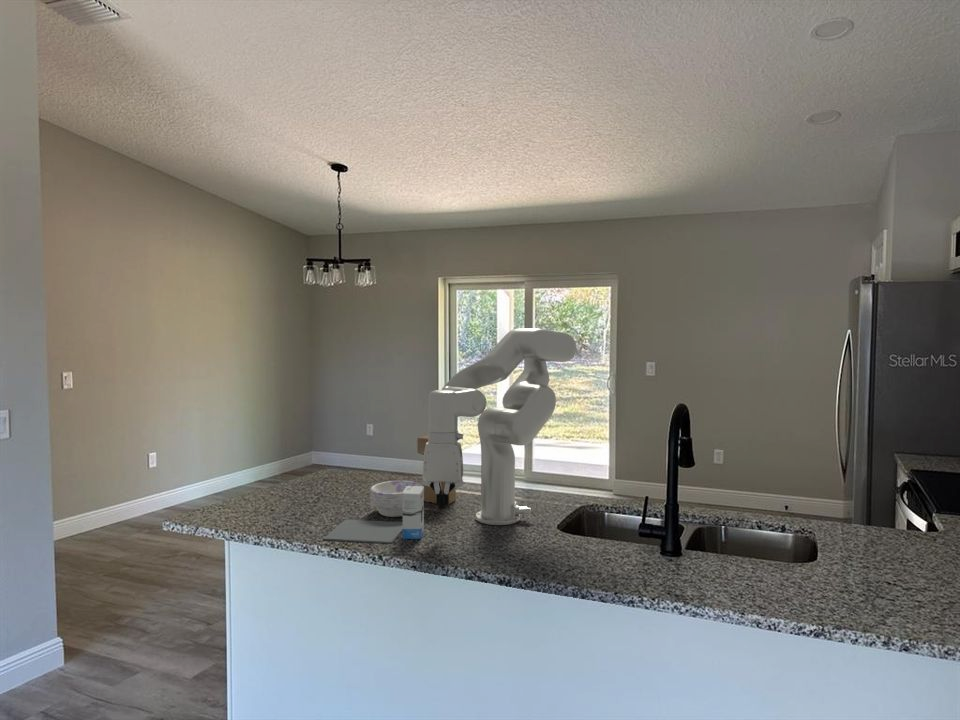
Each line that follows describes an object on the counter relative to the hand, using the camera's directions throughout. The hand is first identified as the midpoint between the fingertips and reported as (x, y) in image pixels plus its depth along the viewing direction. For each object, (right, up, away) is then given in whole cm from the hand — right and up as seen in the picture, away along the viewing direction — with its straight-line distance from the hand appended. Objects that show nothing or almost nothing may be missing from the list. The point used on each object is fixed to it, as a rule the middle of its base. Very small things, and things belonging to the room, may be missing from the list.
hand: (442, 508), depth 159 cm
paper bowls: (-15, -7, +20) cm, 26 cm away
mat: (-20, -7, +3) cm, 22 cm away
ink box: (-8, -7, +1) cm, 11 cm away
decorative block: (-4, -6, +33) cm, 34 cm away
